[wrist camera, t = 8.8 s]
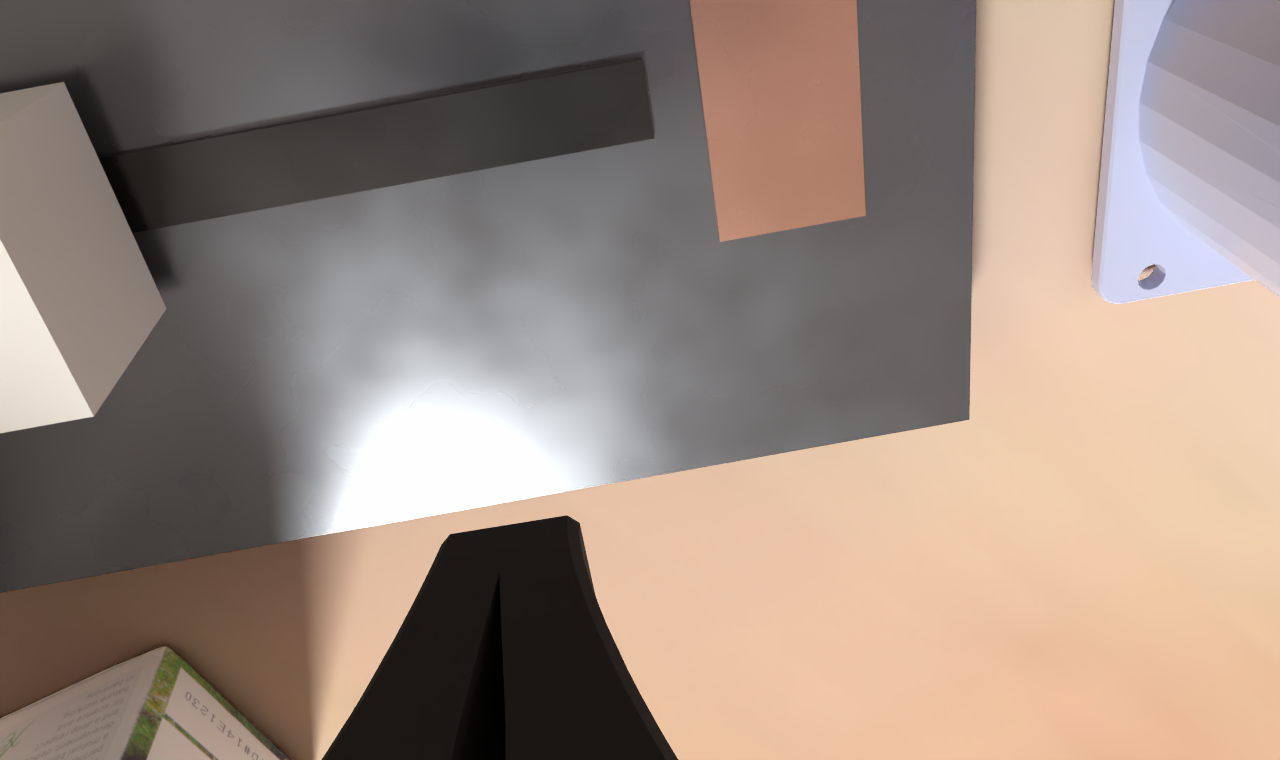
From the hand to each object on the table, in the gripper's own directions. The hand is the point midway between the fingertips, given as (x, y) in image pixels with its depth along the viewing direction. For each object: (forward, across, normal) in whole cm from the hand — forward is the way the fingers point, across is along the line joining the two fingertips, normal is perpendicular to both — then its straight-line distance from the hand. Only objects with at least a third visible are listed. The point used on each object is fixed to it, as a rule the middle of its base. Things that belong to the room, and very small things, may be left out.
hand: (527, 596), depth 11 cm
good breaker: (+7, +7, -3) cm, 10 cm away
